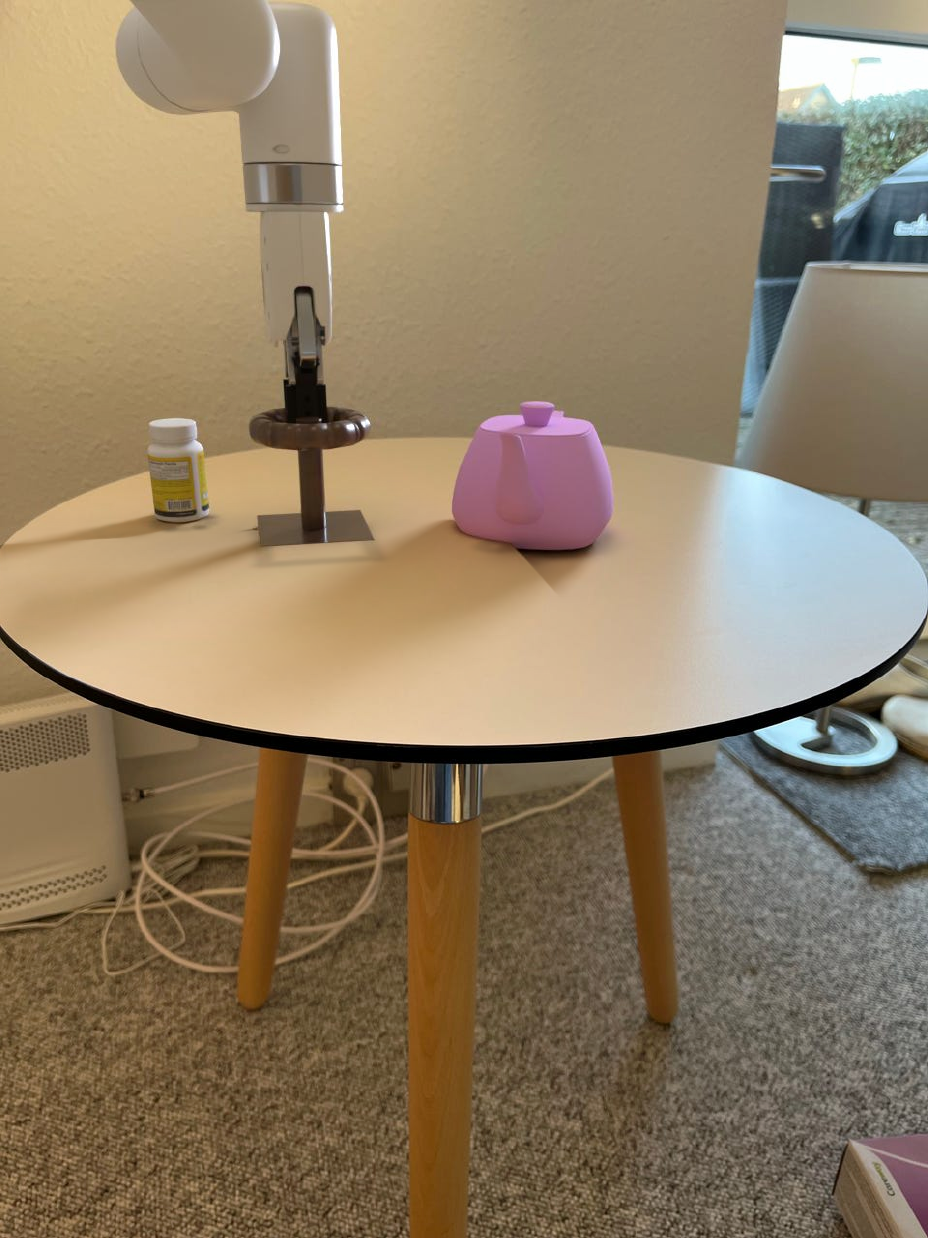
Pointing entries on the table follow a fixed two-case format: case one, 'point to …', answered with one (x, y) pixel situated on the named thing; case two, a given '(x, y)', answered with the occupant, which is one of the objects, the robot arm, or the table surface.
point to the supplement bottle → (177, 471)
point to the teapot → (534, 481)
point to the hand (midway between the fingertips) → (306, 428)
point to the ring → (309, 430)
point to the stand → (312, 510)
